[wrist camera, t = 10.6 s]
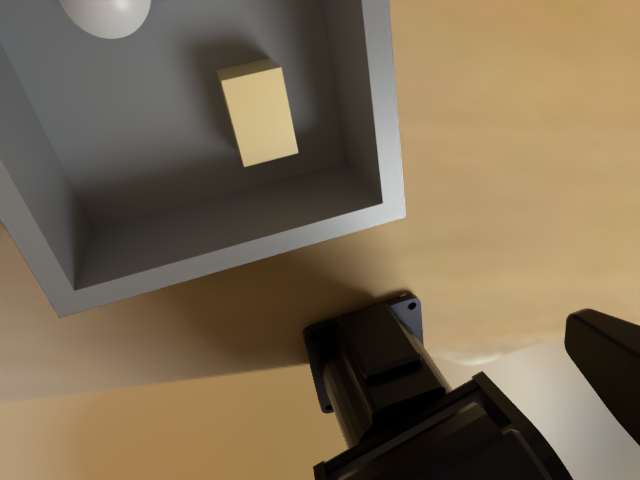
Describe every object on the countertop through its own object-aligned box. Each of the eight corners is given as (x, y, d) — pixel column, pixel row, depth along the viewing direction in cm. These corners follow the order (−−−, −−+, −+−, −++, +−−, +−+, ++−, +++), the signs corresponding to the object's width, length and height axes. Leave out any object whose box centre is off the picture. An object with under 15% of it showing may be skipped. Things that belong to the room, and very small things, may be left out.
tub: (358, 168, 21) (405, 217, 17) (83, 242, 19) (59, 318, 15) (313, -183, 15) (370, -245, 11) (-102, -120, 13) (-231, -164, 9)
